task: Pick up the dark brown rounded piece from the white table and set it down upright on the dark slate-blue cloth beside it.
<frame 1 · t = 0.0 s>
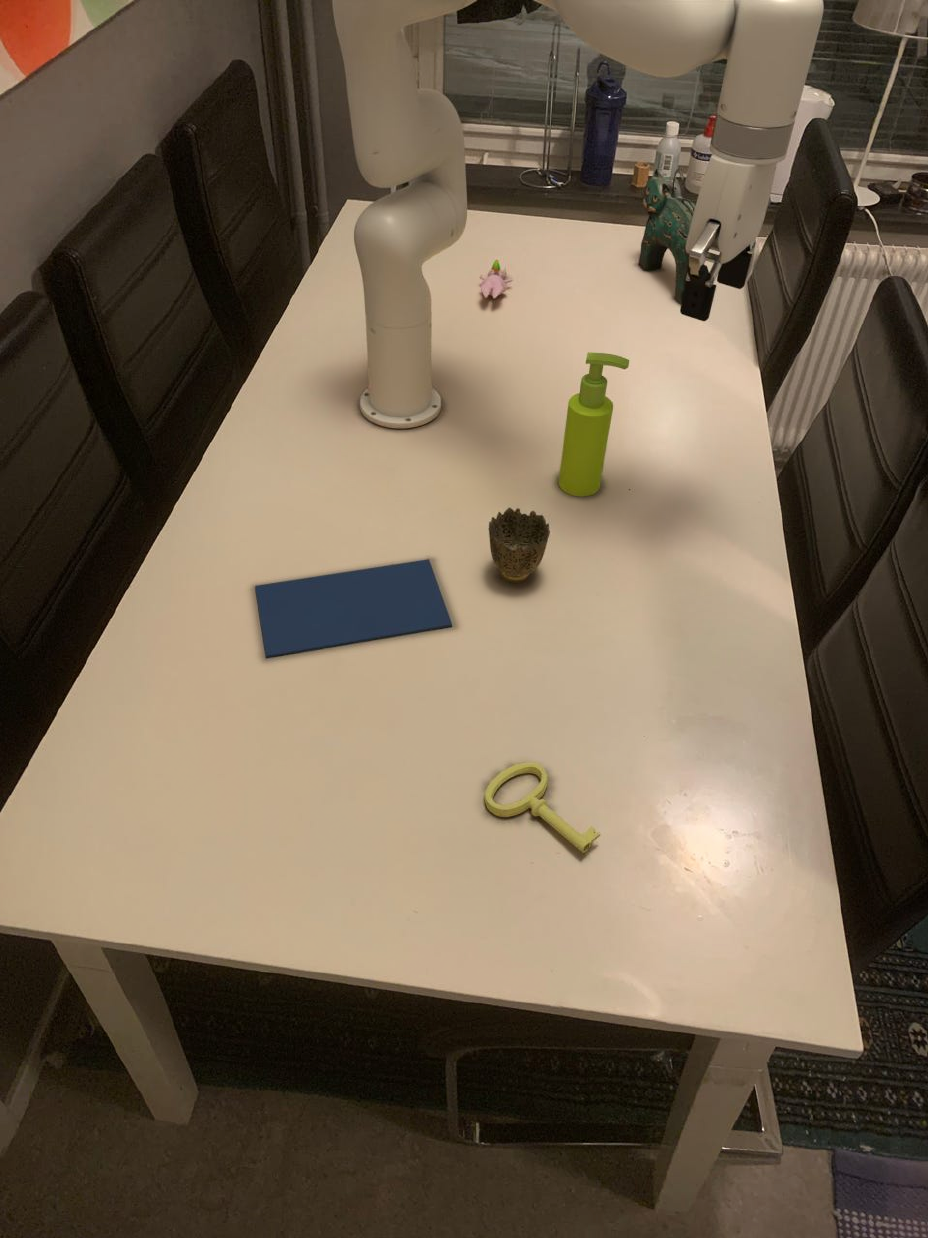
hand: (712, 300, 102), 31 cm above the table, tool pointing down, fingers open, 9 cm apart
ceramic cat: (666, 283, 176), on the table
key: (538, 813, 91), on the table
cloth: (352, 607, 111), on the table
dark brown rounded piece: (514, 576, 116), on the table
soap dispenser: (582, 485, 130), on the table
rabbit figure: (493, 294, 170), on the table
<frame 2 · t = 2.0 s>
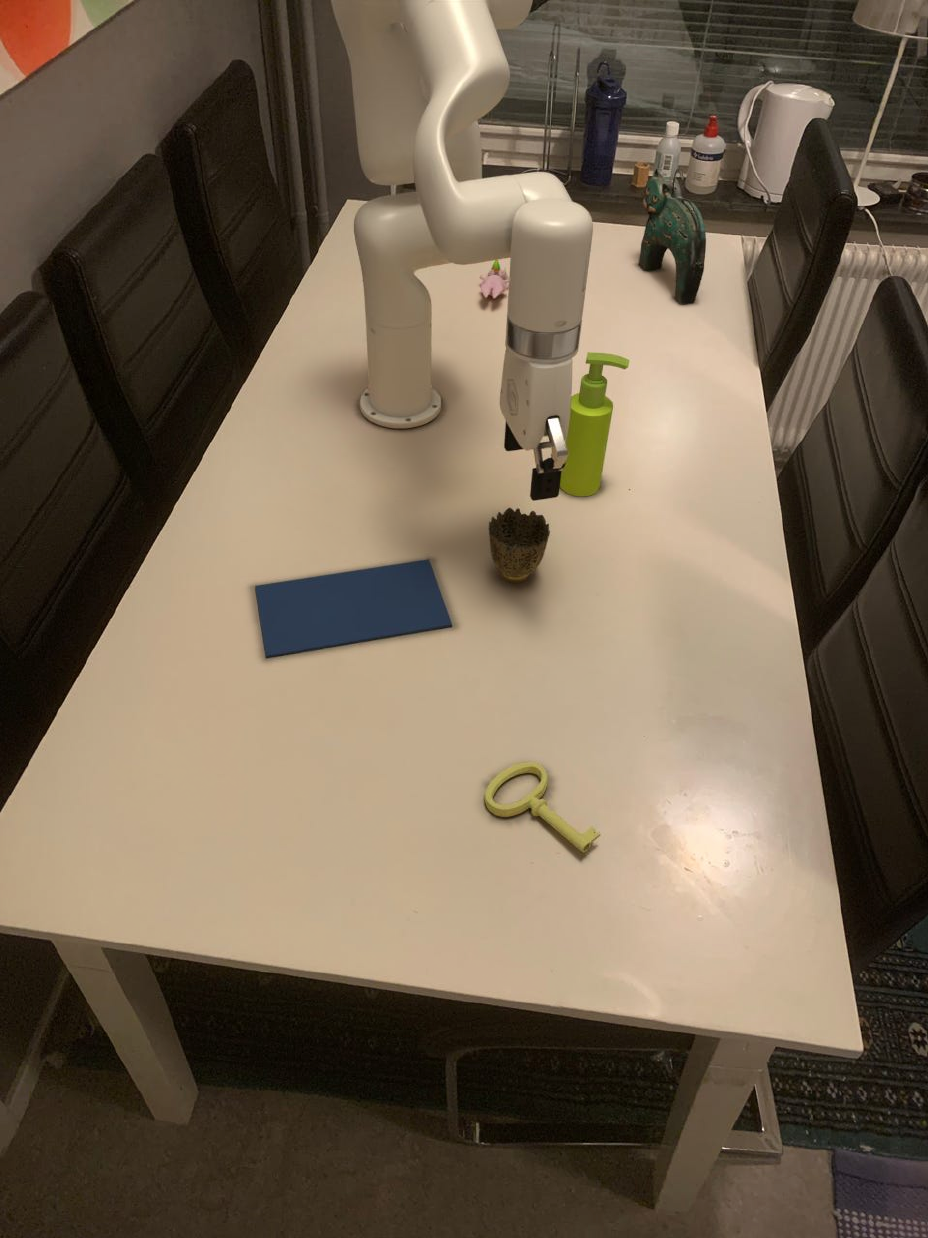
hand: (530, 472, 104), 16 cm above the table, tool pointing down, fingers open, 9 cm apart
nothing on the table moved.
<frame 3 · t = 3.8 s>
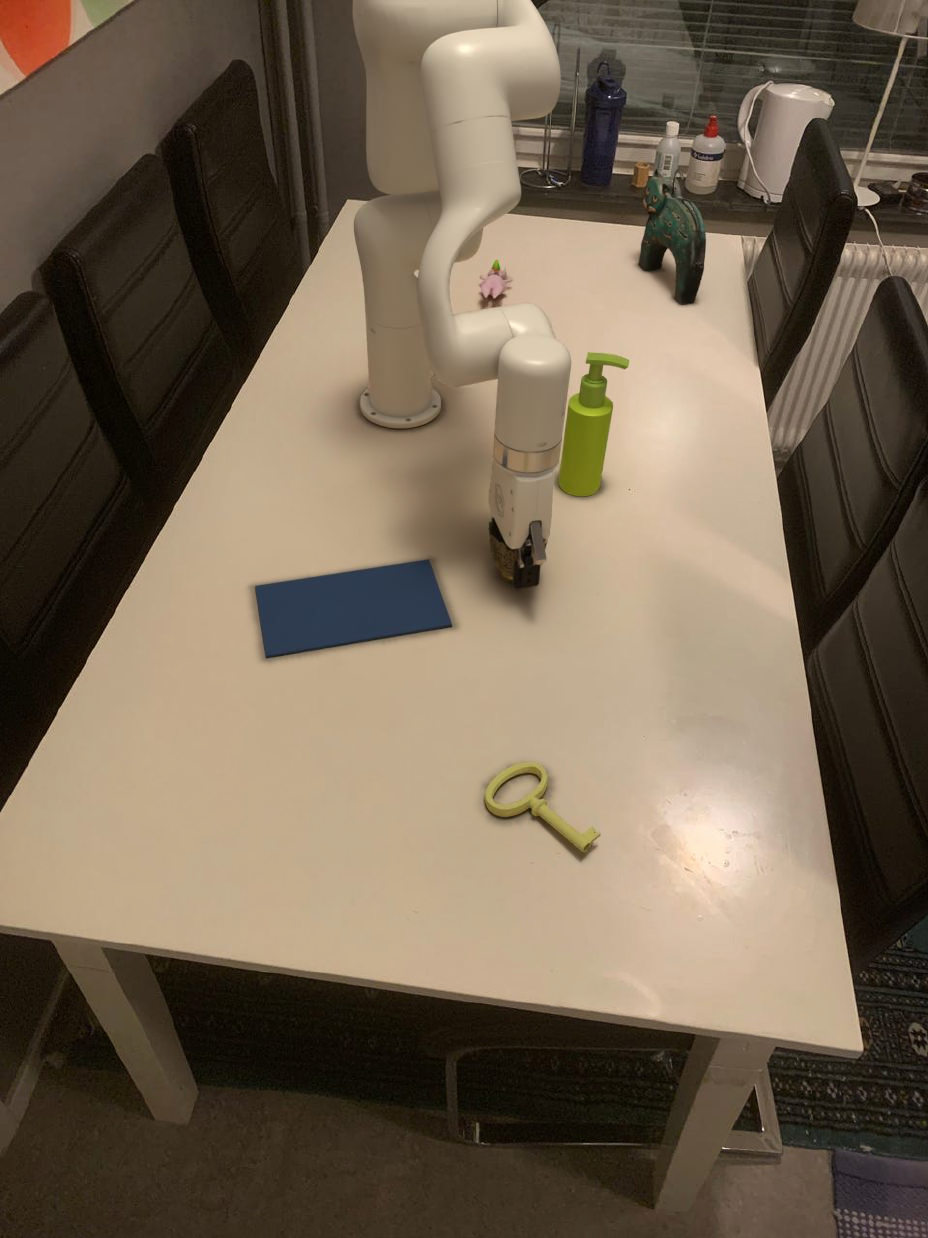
hand: (516, 564, 114), 2 cm above the table, tool pointing down, fingers closed on dark brown rounded piece, 7 cm apart
dark brown rounded piece: (514, 576, 116), on the table, touching gripper
everything else where it was.
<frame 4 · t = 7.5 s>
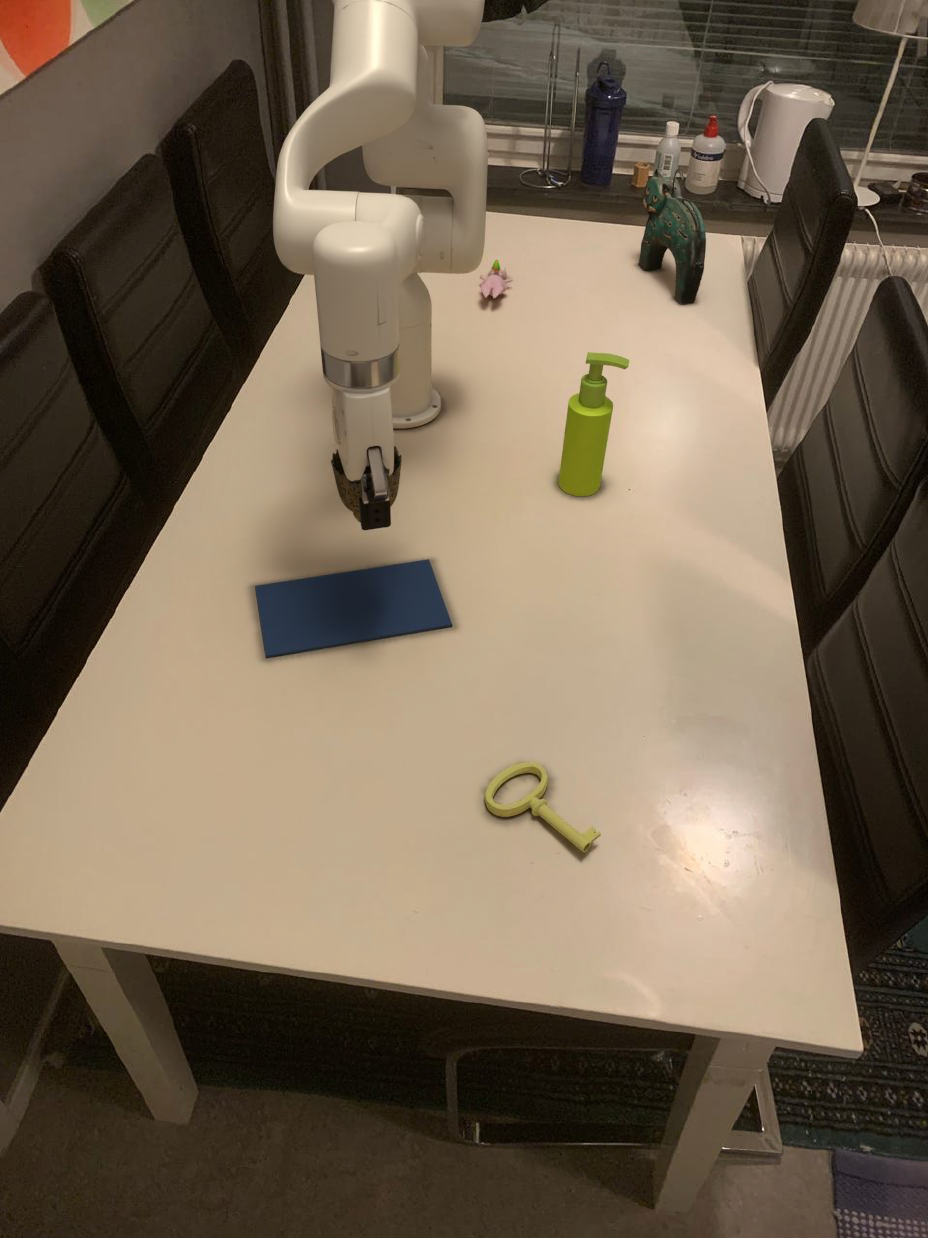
hand: (369, 504, 101), 15 cm above the table, tool pointing down, fingers closed on dark brown rounded piece, 7 cm apart
dark brown rounded piece: (369, 518, 102), point 13 cm above the table, touching gripper
everything else where it was.
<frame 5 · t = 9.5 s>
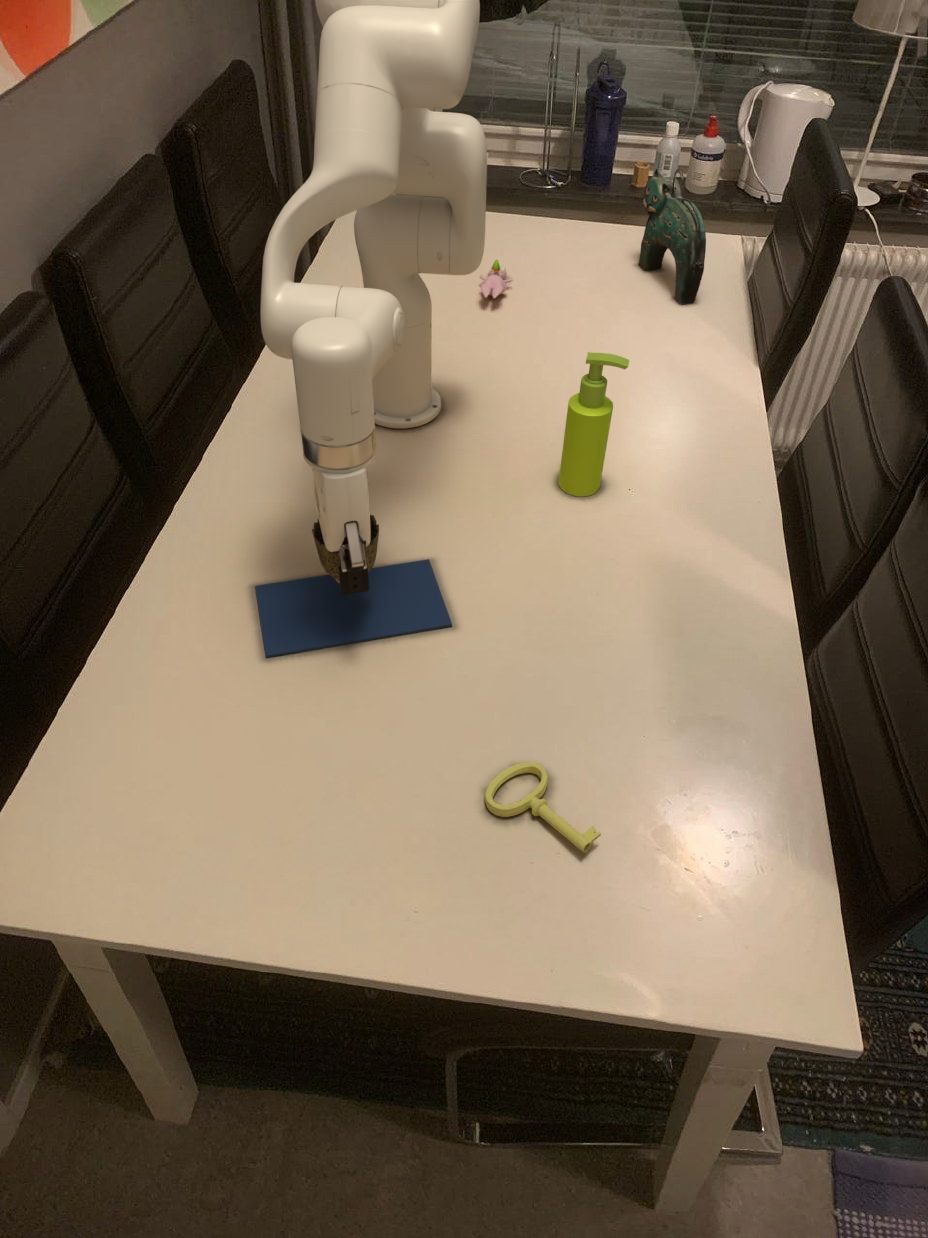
hand: (349, 568, 106), 6 cm above the table, tool pointing down, fingers closed on dark brown rounded piece, 7 cm apart
dark brown rounded piece: (350, 581, 108), point 4 cm above the table, touching gripper
everything else where it was.
when the fingers open (2 cm above the table, at t = 11.0 s): dark brown rounded piece stays where it is, resting on cloth.
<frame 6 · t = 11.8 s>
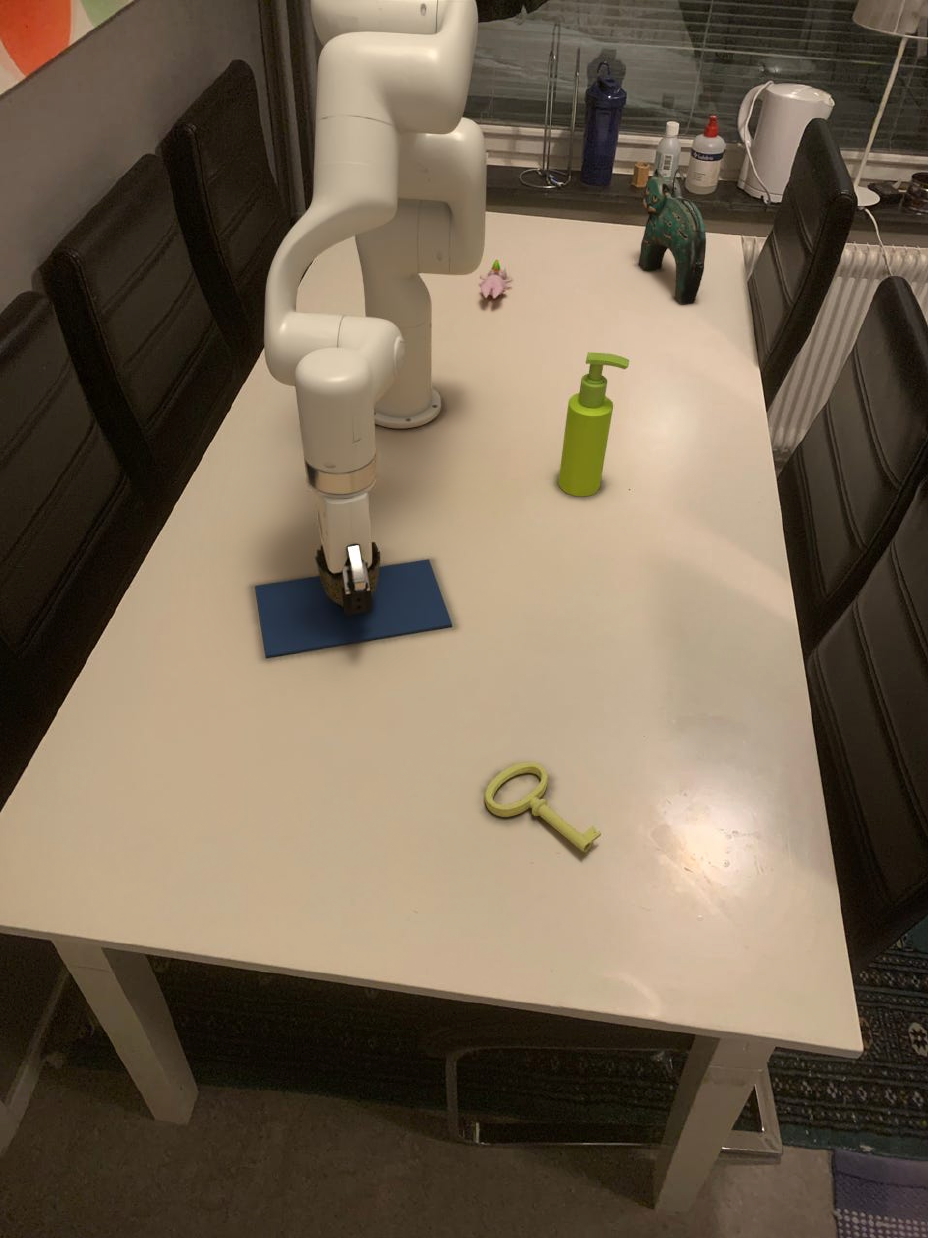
hand: (350, 583, 108), 4 cm above the table, tool pointing down, fingers open, 9 cm apart
dark brown rounded piece: (352, 605, 111), resting on cloth
everything else where it was.
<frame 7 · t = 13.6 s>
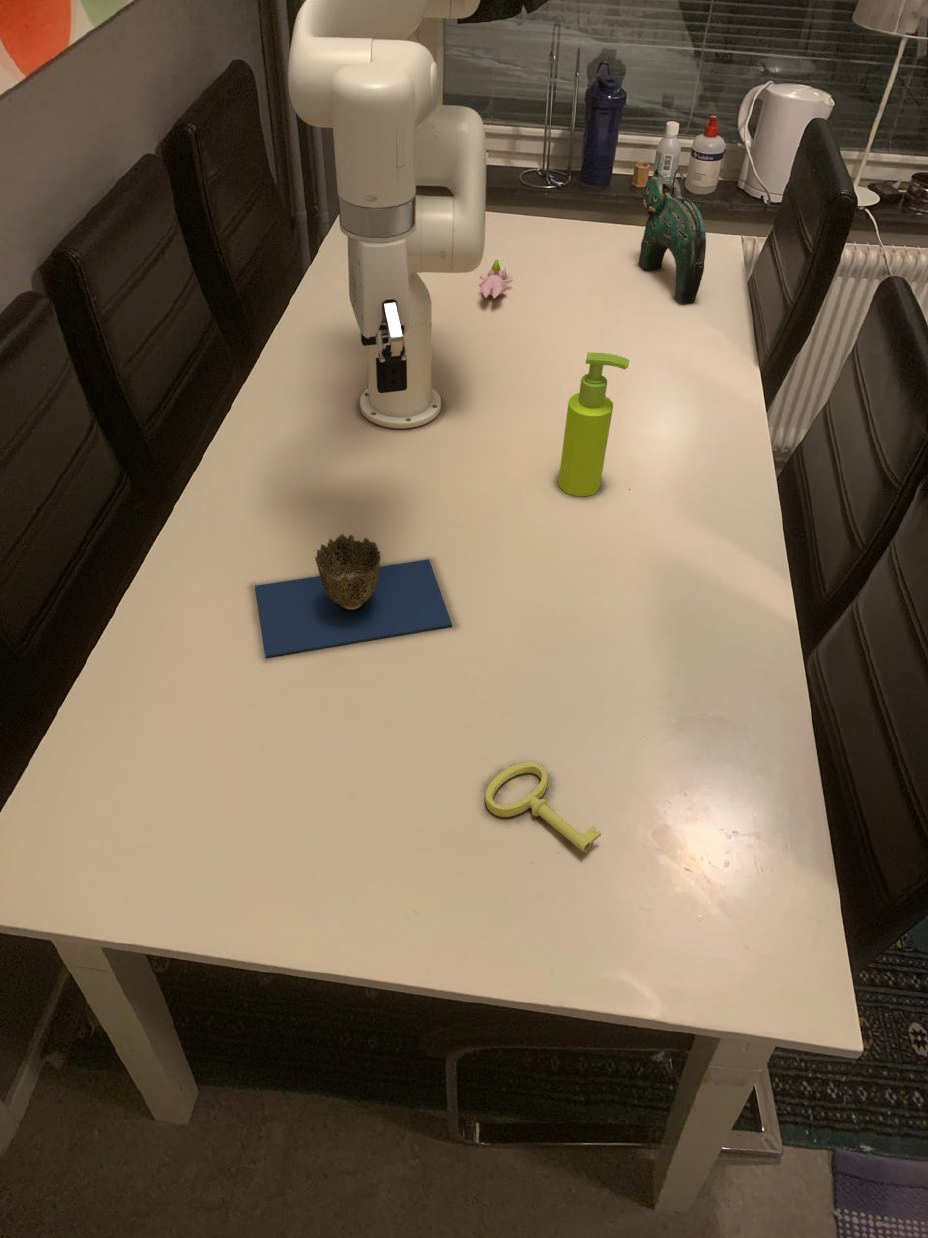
hand: (383, 366, 102), 25 cm above the table, tool pointing down, fingers open, 9 cm apart
nothing on the table moved.
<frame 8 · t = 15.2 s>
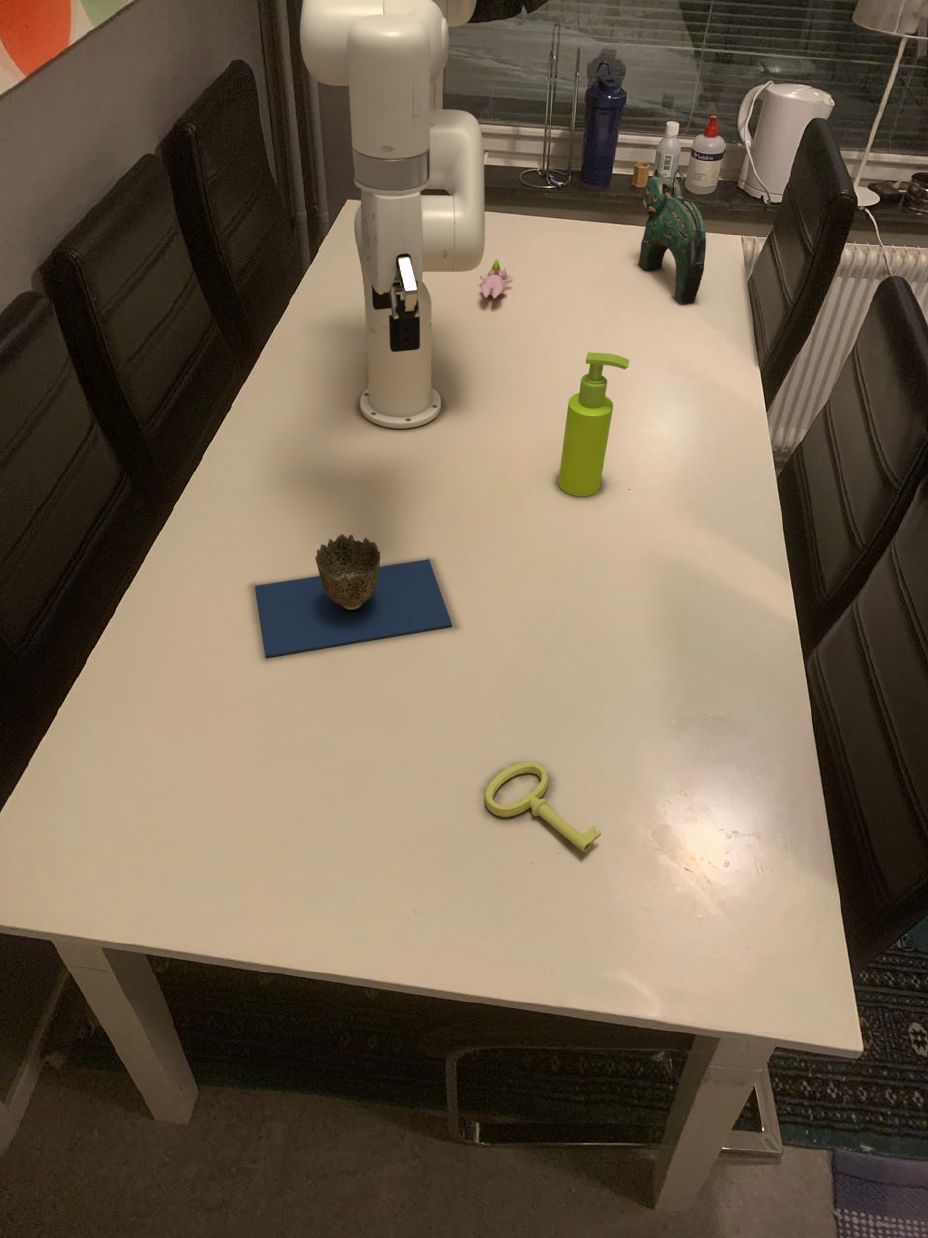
hand: (395, 327, 102), 28 cm above the table, tool pointing down, fingers open, 9 cm apart
nothing on the table moved.
at the end: dark brown rounded piece inside the target area on the cloth (0.1 cm from its centre), point 0.2 cm above the cloth's base; dark brown rounded piece tilted 0°; the gripper is holding nothing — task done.
